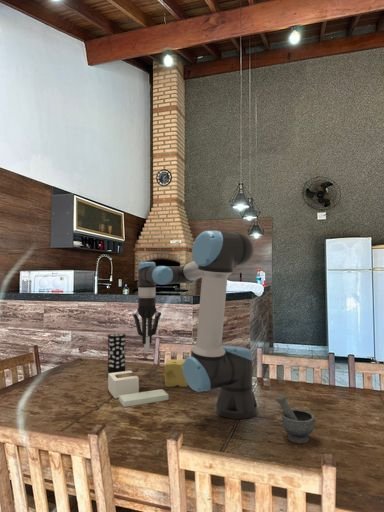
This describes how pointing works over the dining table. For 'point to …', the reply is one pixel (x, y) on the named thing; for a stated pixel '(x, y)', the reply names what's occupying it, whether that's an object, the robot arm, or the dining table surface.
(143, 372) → the tile
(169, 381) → the cheese
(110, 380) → the white box holder
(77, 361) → the dining table surface
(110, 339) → the spotted tube
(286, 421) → the mortar and pestle
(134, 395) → the white flat bar
